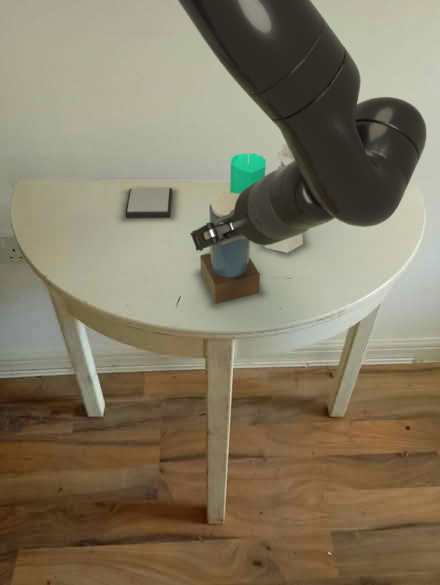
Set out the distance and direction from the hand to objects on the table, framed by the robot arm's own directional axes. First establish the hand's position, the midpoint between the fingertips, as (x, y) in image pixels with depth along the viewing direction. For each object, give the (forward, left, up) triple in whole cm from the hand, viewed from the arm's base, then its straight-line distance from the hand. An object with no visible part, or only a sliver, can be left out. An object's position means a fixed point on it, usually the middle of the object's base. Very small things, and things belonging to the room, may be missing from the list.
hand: (227, 232), depth 72 cm
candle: (+10, +16, -10) cm, 21 cm away
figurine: (+13, +7, -10) cm, 17 cm away
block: (0, -1, -10) cm, 10 cm away
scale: (-6, +24, -10) cm, 26 cm away
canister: (0, -1, -6) cm, 6 cm away
